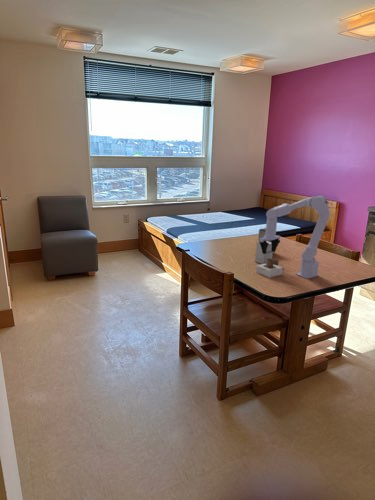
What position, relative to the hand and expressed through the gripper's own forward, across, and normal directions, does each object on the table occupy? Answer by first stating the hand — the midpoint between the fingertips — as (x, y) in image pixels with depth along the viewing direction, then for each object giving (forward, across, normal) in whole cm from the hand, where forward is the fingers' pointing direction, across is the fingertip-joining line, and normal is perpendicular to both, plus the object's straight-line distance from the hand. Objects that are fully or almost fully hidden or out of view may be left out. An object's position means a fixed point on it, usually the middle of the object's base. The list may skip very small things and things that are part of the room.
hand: (268, 252), depth 200 cm
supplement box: (+10, -6, -9) cm, 15 cm away
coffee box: (+10, -23, -24) cm, 35 cm away
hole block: (+9, +6, +7) cm, 13 cm away
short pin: (+10, -5, +1) cm, 11 cm away
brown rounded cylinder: (+9, +6, +7) cm, 13 cm away
